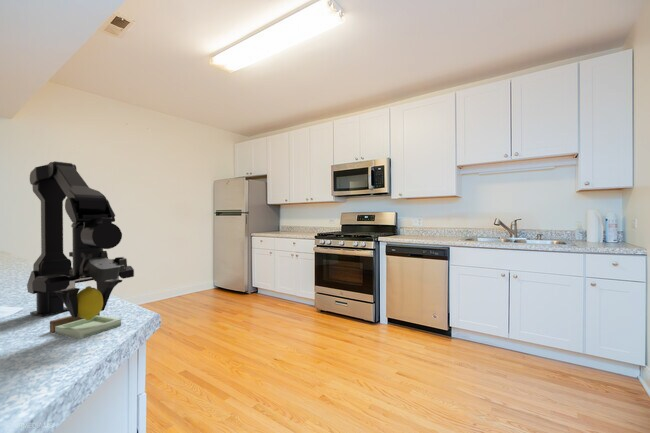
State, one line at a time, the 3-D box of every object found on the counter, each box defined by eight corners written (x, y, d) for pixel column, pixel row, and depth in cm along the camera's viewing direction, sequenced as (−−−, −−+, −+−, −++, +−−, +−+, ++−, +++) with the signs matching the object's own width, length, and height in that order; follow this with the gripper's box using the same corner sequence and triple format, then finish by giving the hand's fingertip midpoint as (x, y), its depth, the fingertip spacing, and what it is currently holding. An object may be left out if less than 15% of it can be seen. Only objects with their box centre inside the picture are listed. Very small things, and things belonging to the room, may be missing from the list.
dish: (55, 333, 71) (55, 326, 71) (97, 321, 79) (97, 315, 79) (79, 338, 67) (79, 331, 67) (121, 325, 75) (121, 319, 75)
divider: (49, 332, 71) (49, 321, 71) (96, 318, 81) (96, 309, 81) (52, 332, 71) (52, 321, 71) (99, 319, 80) (99, 309, 80)
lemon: (87, 325, 70) (87, 289, 70) (67, 323, 71) (67, 288, 71) (109, 317, 75) (109, 284, 75) (90, 316, 76) (89, 283, 76)
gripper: (61, 252, 61) (62, 332, 61) (148, 244, 78) (149, 306, 78) (30, 250, 66) (31, 325, 66) (119, 243, 83) (120, 302, 83)
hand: (88, 314), depth 73 cm, fingers closed on lemon, 5 cm apart
